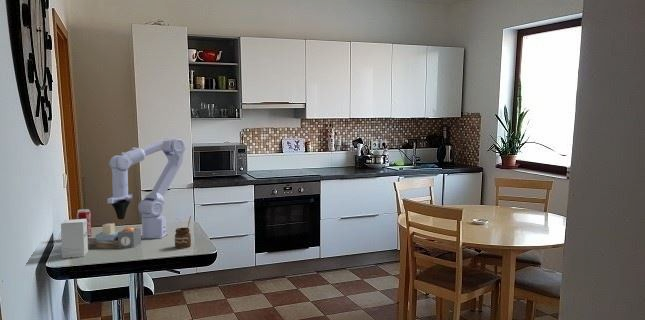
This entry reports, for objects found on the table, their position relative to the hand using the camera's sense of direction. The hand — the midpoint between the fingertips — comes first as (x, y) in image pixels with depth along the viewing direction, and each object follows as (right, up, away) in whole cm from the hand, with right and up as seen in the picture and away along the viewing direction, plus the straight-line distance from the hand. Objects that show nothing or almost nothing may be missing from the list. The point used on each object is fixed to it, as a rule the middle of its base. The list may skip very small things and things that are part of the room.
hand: (121, 219), depth 186 cm
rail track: (-6, -10, -4) cm, 12 cm away
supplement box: (-9, -11, -18) cm, 23 cm away
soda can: (-20, -10, +10) cm, 24 cm away
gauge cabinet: (+5, -10, -4) cm, 12 cm away
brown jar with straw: (+27, -10, -7) cm, 30 cm away
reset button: (+5, -5, -4) cm, 9 cm away
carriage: (-3, -7, -4) cm, 9 cm away
